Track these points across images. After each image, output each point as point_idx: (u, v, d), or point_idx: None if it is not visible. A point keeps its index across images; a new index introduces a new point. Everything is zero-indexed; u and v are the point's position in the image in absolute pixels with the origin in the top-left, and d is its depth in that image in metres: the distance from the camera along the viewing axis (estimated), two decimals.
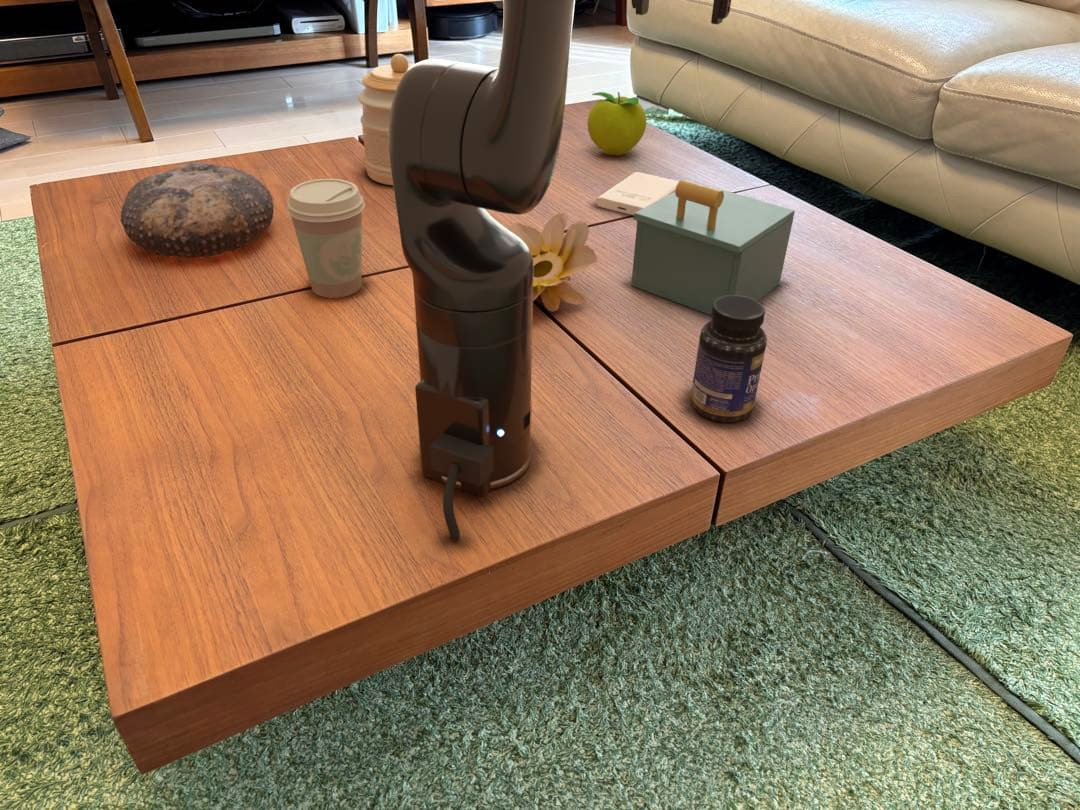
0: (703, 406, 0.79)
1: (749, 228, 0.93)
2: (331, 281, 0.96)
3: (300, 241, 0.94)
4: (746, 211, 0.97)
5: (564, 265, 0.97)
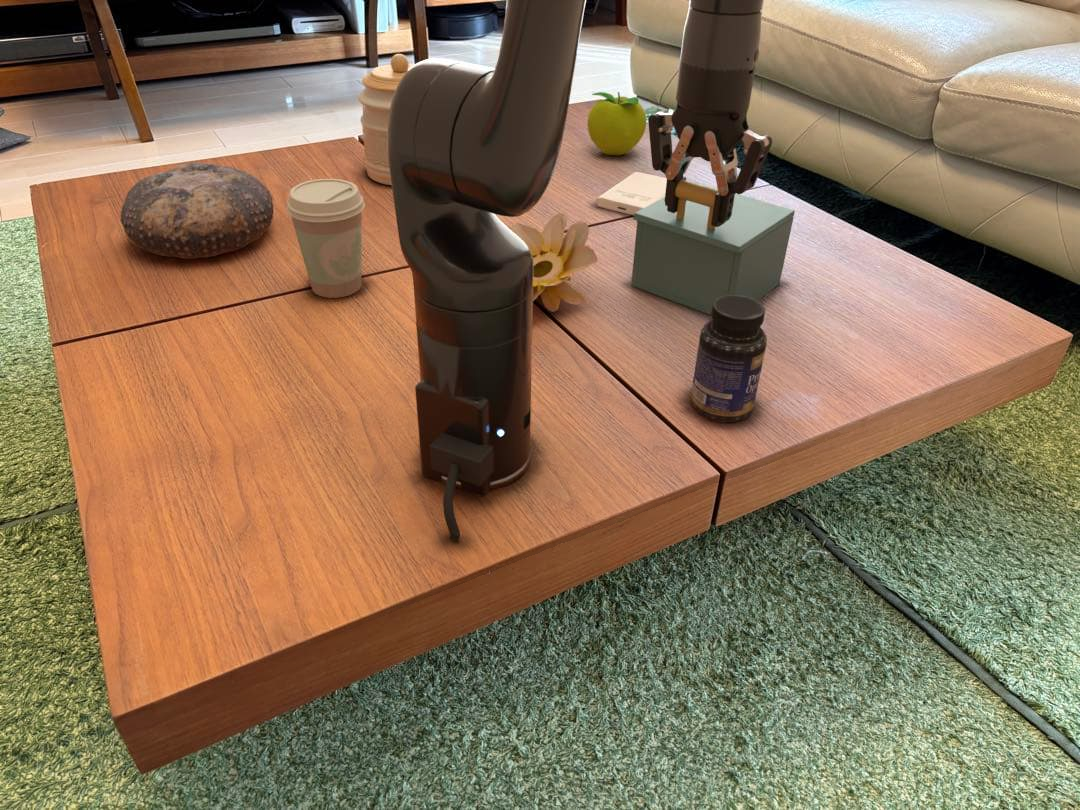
0: (703, 406, 0.79)
1: (749, 228, 0.93)
2: (331, 281, 0.96)
3: (300, 241, 0.94)
4: (746, 211, 0.97)
5: (564, 265, 0.97)
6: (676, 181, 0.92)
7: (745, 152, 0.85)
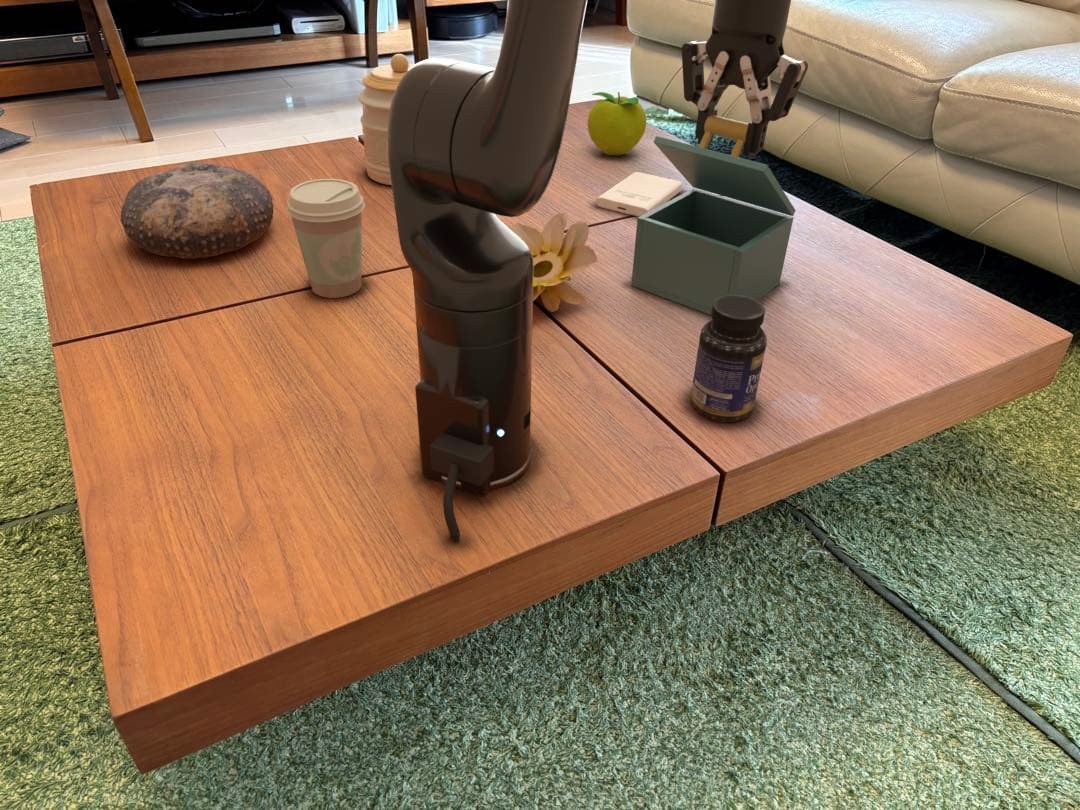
0: (703, 406, 0.79)
1: None
2: (331, 281, 0.96)
3: (300, 241, 0.94)
4: None
5: (564, 265, 0.97)
6: (708, 112, 0.91)
7: (781, 76, 0.84)
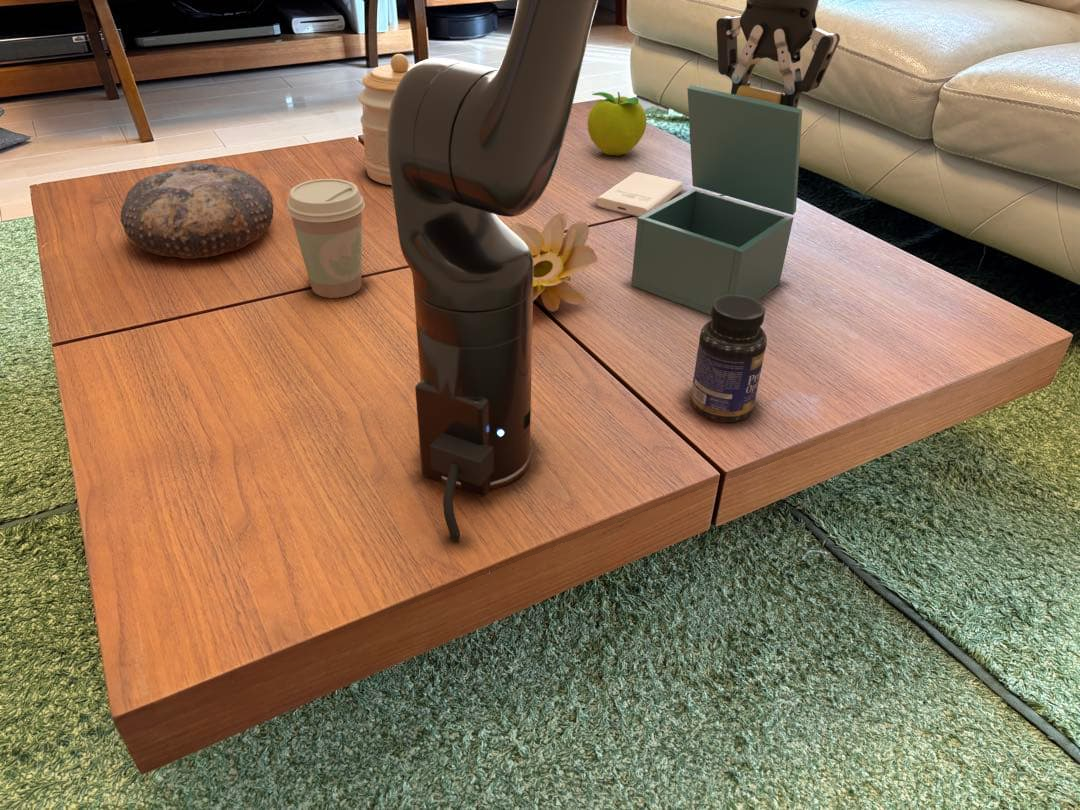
0: (703, 406, 0.79)
1: None
2: (331, 281, 0.96)
3: (300, 241, 0.94)
4: None
5: (564, 265, 0.97)
6: (742, 84, 0.95)
7: (814, 48, 0.88)
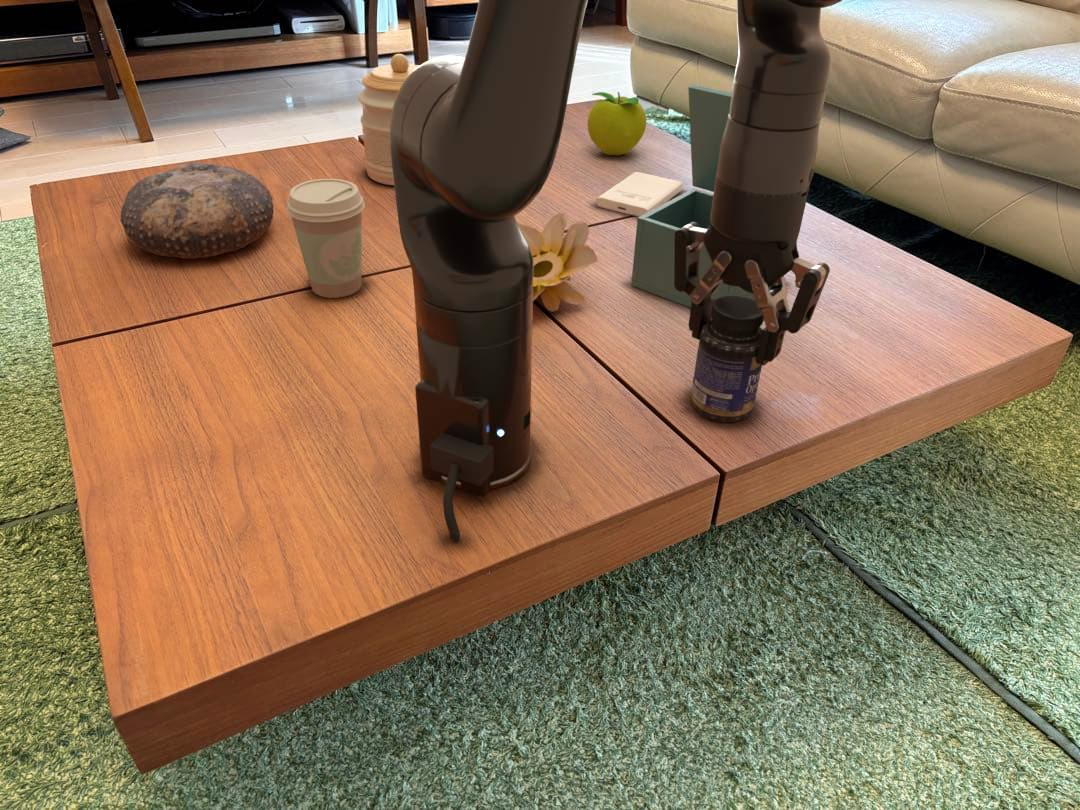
0: (703, 406, 0.79)
1: None
2: (331, 281, 0.96)
3: (300, 241, 0.94)
4: None
5: (564, 265, 0.97)
6: (703, 305, 0.77)
7: (797, 285, 0.69)
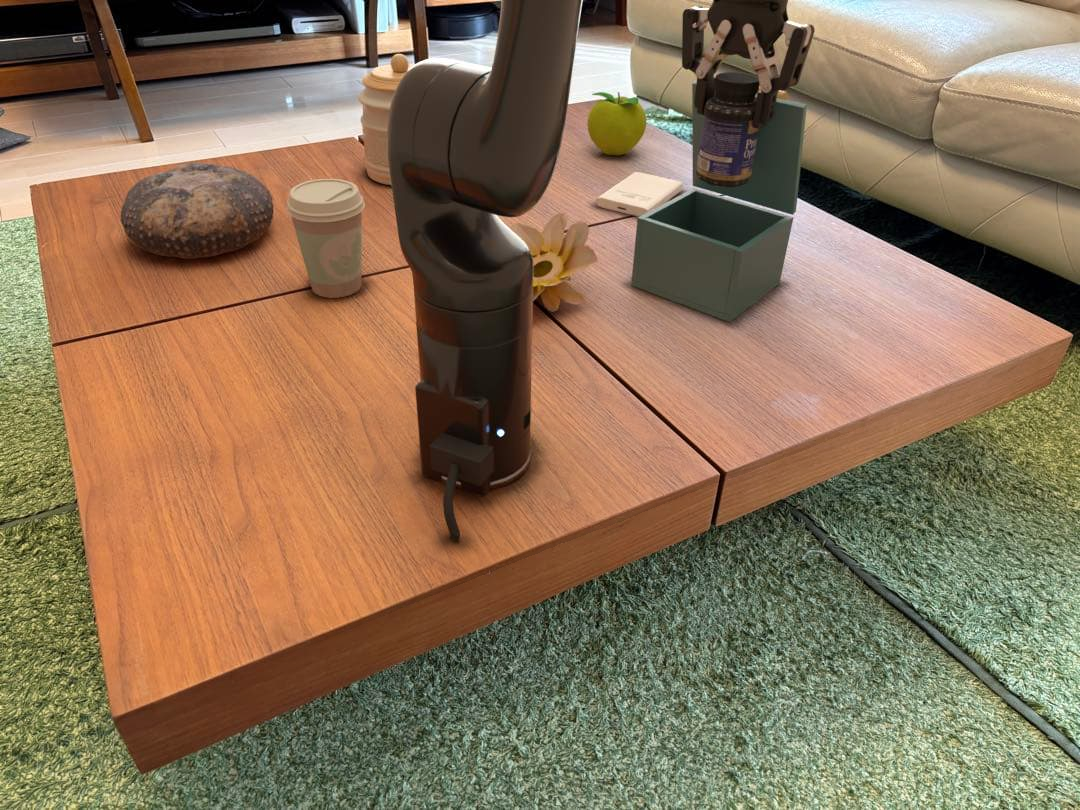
0: (707, 173, 0.92)
1: None
2: (331, 281, 0.96)
3: (300, 241, 0.94)
4: None
5: (564, 265, 0.97)
6: (707, 80, 0.89)
7: (787, 42, 0.82)
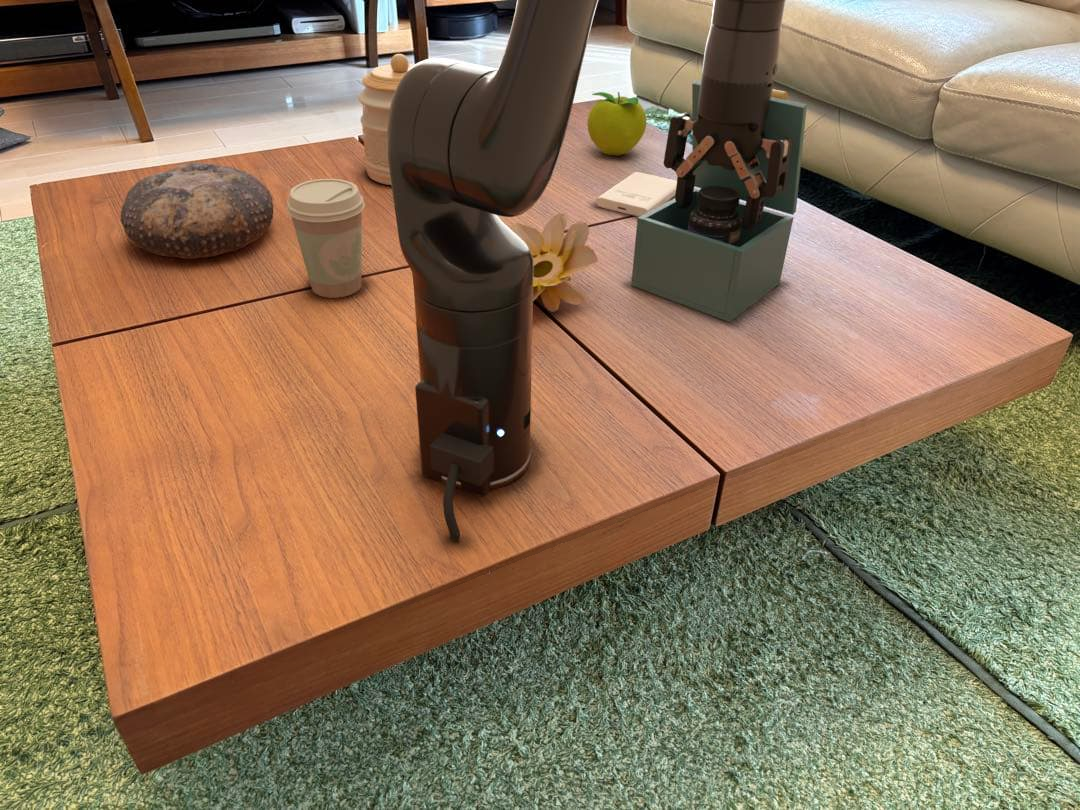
0: None
1: None
2: (331, 281, 0.96)
3: (300, 241, 0.94)
4: None
5: (564, 265, 0.97)
6: (686, 178, 0.96)
7: (767, 156, 0.88)
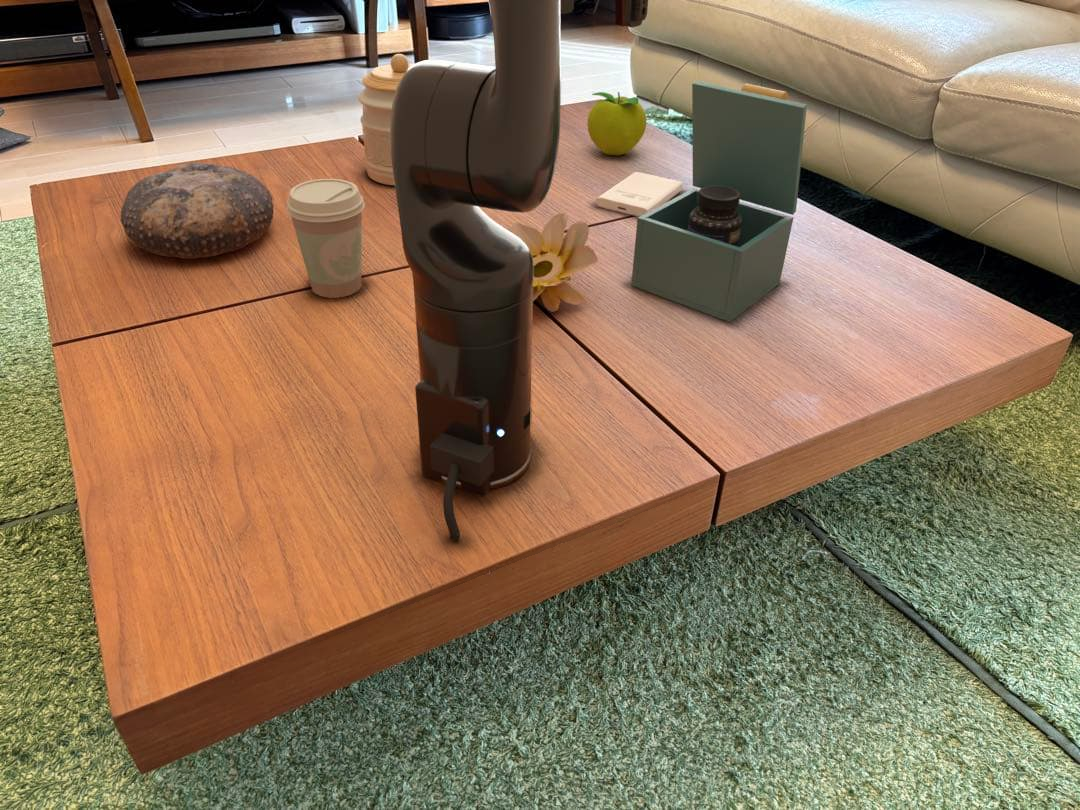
0: None
1: None
2: (331, 281, 0.96)
3: (300, 241, 0.94)
4: None
5: (564, 265, 0.97)
6: None
7: None
